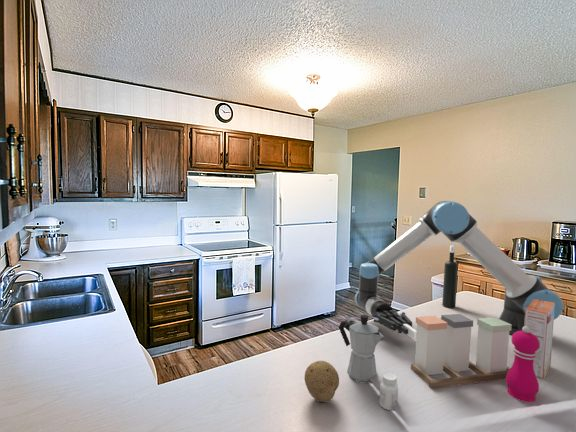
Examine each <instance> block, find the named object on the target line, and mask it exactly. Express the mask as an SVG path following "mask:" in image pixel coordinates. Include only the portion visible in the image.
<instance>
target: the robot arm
mask: <svg viewBox="0 0 576 432" xmlns="http://www.w3.org/2000/svg"><path fill="white" fill-rule="evenodd" d="M440 233H442V234H443V235H444V236H445V237H446V238H447V239H448V240H449V241H451V243H458V244H459V245H460V246H461V247H462V248H463V249H464V250H465V251H466V252H468V254H469V255H470V256H471V257H473V259H475V260H476V261H477V263H479V264H480V266H481V267H483V268H484V269H485V270H486V271H487V272H488V273H489V274H490V275H491V276H492V277H493V278H494V279H495V280H497V282H498V283H499V284H501V286H502V287H503V288H504V302H503V310H502V312H501V314H500V316H499V318H498V319H500V320H502V321H505V322H507V323H509V324H511V325H512V326H511V331H509V335H511V336H512V335H513V334H514V333H515V332H517V331H523V330H522V328H523V327H524V321H525V309H526V308H527V307H528V306H529V304H530V303H531V302H532V300H533V299H538V300H543V301H547V302H553V303H555V309H554V321H555V320H556V319H557V318H559V317H560V316H561V315H562V312H563V310H564V304H563V300H562V299H561V297H560V296H559V295H558V293H556V292H554V291H553V290H551V289H549V287H547V285H545V284H544V283H543V279H542V277H540V276H538V275H537V276H536V275H534V274H527V273H526V272H525V271H524V270H523V269H522V268H521V267H520V266H518V265H517V264H516V262H515V261H513V260H512V259H511V258H510V257H509V256H508V255H507V254H506V253H505V252H504V251H503V250H502V249H500V247H499V246H497V244H495V243H494V242H493V241H492V240H491V239H490V238H489V237H488V236H487V235H486V234H485V233H484V232H483V231H482V230H480V229H479V228H478V221H477V220H476V219H475V218H474V217H473V216H472V215H471V214H470V213H469V212H468V210H467V208H466V207H465V206H464V205H463V204H461V203H459V202H456V201H451V200H443V201H442V200H441V201H439V202H437V203H435V204H434V205H433V206H432V207H431V208H430V209H429V210H428V211H426V213H424V214H423V215H421V217H420V218H419V221H418V222H417V223H415V225H414V226H412V227H411V228H410V229H408V230H407V231H406V232H405V233H403V234H402V235H401V236H399V237H398V238H397V239H396V240H394V241H393V242H392V243H391V244H389V245H388V246H387V247H386V248H384V249H383V250H381V252H379V253H378V254H376V255H375V256H374V257H373V258H372V259H370V260H368V261H366V262H365V263H364V262H363V263H361V264H360V267H359V271H358V273H359V276H358V277H359V279H358V281H359V283H358V284H359V285H358V290H357V291H356V293H355V295H354V301H355V304H356V305H357V306H358V307H359V308H360V309H362V310H363V311H364V312H366V313H367V314H368V315H370V316H371V317H372V318H373V322H374V323H377V324H380V325H382V326H384V327H386V328H387V329H389V330H391V331H393V332H396V331H398V332H397V333H398V334H400V335H401V334H402V333H403V334H405V335H406V336H408V337H409V338H410V339H412V340H413V341H416V334H417V329H415V327H413V321H412V320H411V319H410V318H409V317H408V316H407V315H406V312H404V311H403V312H400V313H399V312H397V311H394V309H393V307H392V306H391V304H389V303H388V302H386V301H385V300H383V299H382V298H380V297H378V285H379V276H381V274H383V273H384V272H385V271H387V270H388V269H389V268H391V267H392V266H394V265H395V264H396V263H397V262H399V261H400V260H401V259H402V258H405V256H407V255H408V254H409V253H411V252H412V251H413V250H414V249H416V248H417V247H419V246H420V245H421V244H422V243H424V242H425V241H427V240H428V239H429V238H431V236H437V235H439V234H440Z"/></svg>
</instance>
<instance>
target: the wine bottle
mask: <svg viewBox="0 0 576 432" xmlns="http://www.w3.org/2000/svg"><path fill="white" fill-rule="evenodd" d="M455 252H456V245H452V244H451V245H449V260H447V261H445V263H444V269H443V270H444V273H443V287H442V304H441V305H442V307H444V308H448V309H455V308H456V306H457V303H456V301H457V288H458V269H459V268H458V267H459V264H458V263H457V262H456V261H455Z"/></svg>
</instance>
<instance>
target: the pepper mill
mask: <svg viewBox="0 0 576 432" xmlns="http://www.w3.org/2000/svg"><path fill="white" fill-rule="evenodd" d="M522 330H523V331H517V332H515V333H514V334H513V335H511V343H512V345H513V347H512V350H513V351H512V353H513V355H514V358H513V362H512V365H511V367H509V368H510V370H509V371H508V373H507V375H506V379H505V383H506V385H507V386H508V387H506V392H507V393H508V395H509V396H510V397H512V398H515V399H516V400H519V401H522V402H525V403H533V402H535V401H536V399H537V397H536V394H538V393H539V391H540V383H539V381H538V377H537V376H536V375H535V372H534V368H533V362H534V359H536V352H535V351H537V350H538V349H539V346H540V343H539V340H538V338H537V337H536V336H535V335H534V334H532V333H530V328H529V327H527V326H524V327H523V328H522Z"/></svg>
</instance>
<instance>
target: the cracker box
mask: <svg viewBox="0 0 576 432" xmlns="http://www.w3.org/2000/svg"><path fill="white" fill-rule="evenodd" d="M554 309H555V303H553V302H547V301H543V300H538V299H533V300H532V302H531V303H530V304H529V306H528V307H527V308H526V309H525V321H524V326H527V327H529V328H530V333H532V334H534V335H535V336H536V337H537V338H538V340H539V343H540V346H539V349H538V350H537V351H535V352H536V359H534V362H533V368H534V372H535V375H536V377H537V378H540V379H545V377H546V375H547V373H548V371H549V369H550V367H551V363H552V350H553V349H552V347H553V335H554V321H555V320H554Z"/></svg>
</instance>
